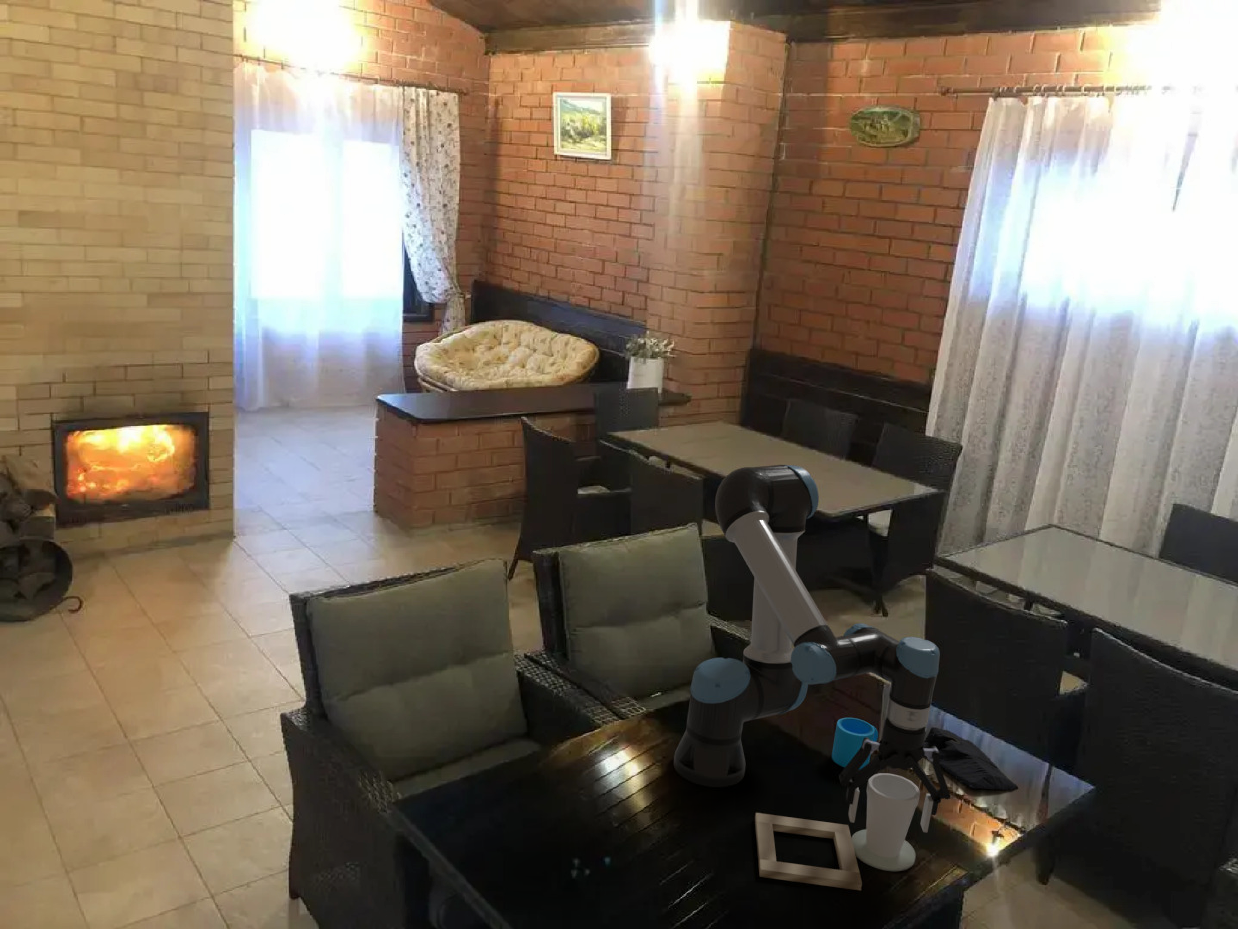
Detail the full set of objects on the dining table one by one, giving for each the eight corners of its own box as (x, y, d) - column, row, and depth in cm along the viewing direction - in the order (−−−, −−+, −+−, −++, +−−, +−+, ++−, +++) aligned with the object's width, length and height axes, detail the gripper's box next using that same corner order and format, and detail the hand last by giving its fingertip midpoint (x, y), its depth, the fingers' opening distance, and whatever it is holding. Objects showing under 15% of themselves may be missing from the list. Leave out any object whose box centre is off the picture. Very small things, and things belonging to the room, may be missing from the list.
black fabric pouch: (962, 797, 218) (966, 777, 217) (908, 744, 238) (912, 725, 237) (1023, 793, 222) (1028, 773, 221) (965, 741, 243) (969, 723, 242)
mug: (851, 773, 222) (857, 739, 220) (823, 755, 229) (829, 722, 227) (888, 760, 229) (893, 727, 227) (860, 743, 236) (865, 711, 234)
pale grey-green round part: (855, 866, 189) (855, 862, 189) (846, 829, 201) (847, 825, 201) (920, 875, 189) (921, 871, 189) (908, 837, 200) (908, 833, 200)
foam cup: (909, 841, 198) (921, 781, 195) (907, 868, 189) (918, 806, 186) (860, 828, 200) (870, 768, 197) (855, 854, 192) (865, 792, 189)
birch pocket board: (759, 876, 184) (760, 869, 183) (754, 819, 201) (755, 812, 201) (860, 890, 183) (861, 883, 182) (847, 832, 200) (848, 825, 200)
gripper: (840, 722, 185) (823, 825, 191) (980, 740, 184) (959, 844, 189) (835, 703, 193) (819, 803, 198) (969, 720, 191) (949, 821, 196)
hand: (887, 823), depth 193 cm, fingers open, 13 cm apart
